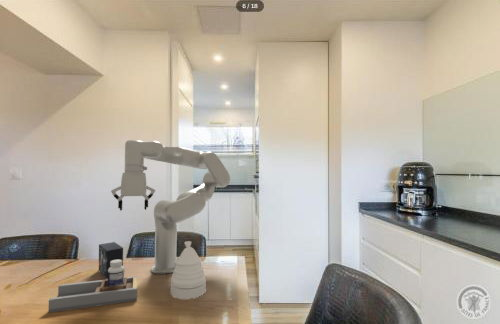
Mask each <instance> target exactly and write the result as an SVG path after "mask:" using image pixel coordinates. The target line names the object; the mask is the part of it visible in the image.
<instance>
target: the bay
mask: <svg viewBox="0 0 500 324" xmlns="http://www.w3.org/2000/svg"><path fill="white" fill-rule="evenodd" d="M126 277H127V283H128V282H132V288H128V289H120V290H112V291H104V292H95V290H96V288H97V286H101V284H102V281H103V280H104V279H99V280H91V281H90V280H89V281H82V282H72V283H63V284H58V287H57V296H55V297H50V298H49V299H48V314H49V313H55V312H63V311H70V310H77V309H86V308H92V307H101V306H108V305H113V304H114V305H115V304H120V303H128V302H129V303H130V302H135V301H136V302H137V300H138V297H137V296H138V276H137V275H135V276H129V277H128V276H126Z"/></svg>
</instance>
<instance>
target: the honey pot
mask: <svg viewBox="0 0 500 324" xmlns="http://www.w3.org/2000/svg"><path fill="white" fill-rule="evenodd" d="M191 245H192V241H191V240H188V241H185V242H184V246H185V248H184V249H183V250H182V251H181V253H180V255H179V257H177V259H176V260H175V261H174V262H175V264H176V267H175V269H174V272H172V276H171V278H170V296H171V295H172V296H173V297H172V296H171V297H172V298H174V297H175V299H177V298H179V299H178V300H191V299H190V298H193V299H196V298H195V297H197V298H200V297H202V296H203V294H204V293H205V294H206V291H207V280H206V279H207V276H206V274H205V270H204V266H203V265H202V258H201V257H199V255H198V253H197V251H196V250H195V249H194V248H193V247H192V246H191ZM177 261H178V262H177ZM205 294H204V295H205ZM201 295H202V296H201ZM199 296H200V297H199Z"/></svg>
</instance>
